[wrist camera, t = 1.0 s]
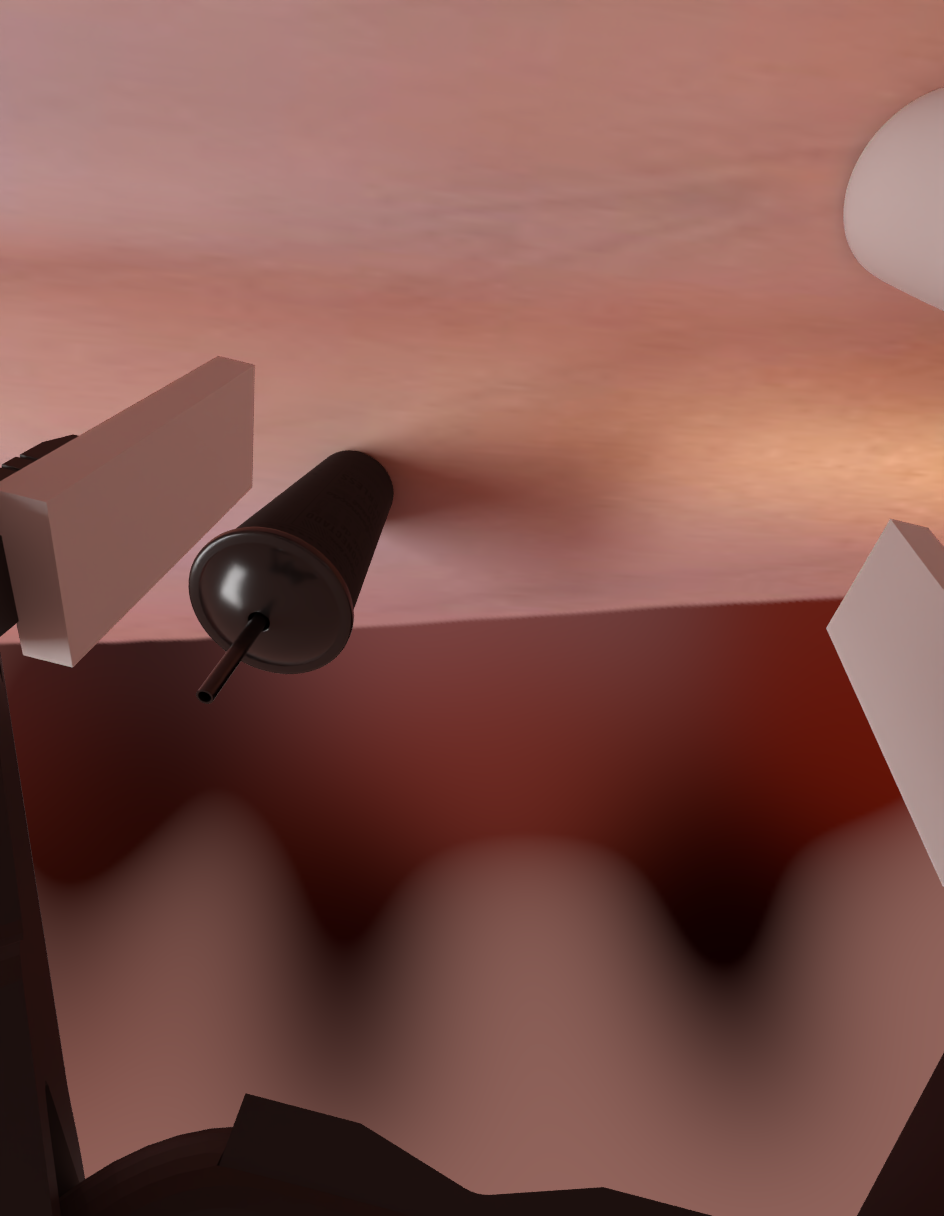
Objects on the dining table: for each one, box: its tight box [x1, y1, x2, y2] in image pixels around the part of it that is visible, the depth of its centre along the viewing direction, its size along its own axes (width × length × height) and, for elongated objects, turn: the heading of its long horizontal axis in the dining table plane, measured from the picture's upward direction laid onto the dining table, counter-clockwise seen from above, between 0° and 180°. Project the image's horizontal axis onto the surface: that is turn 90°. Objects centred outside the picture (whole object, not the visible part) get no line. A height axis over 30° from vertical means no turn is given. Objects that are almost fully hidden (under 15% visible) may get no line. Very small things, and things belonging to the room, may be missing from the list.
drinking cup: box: [189, 451, 393, 704], centre depth 36 cm, size 8×8×20 cm
